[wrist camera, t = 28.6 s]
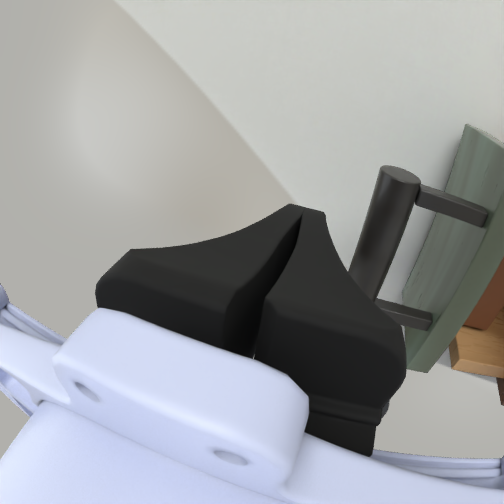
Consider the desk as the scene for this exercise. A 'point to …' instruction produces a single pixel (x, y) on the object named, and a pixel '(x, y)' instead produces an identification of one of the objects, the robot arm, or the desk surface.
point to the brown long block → (489, 302)
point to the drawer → (442, 256)
